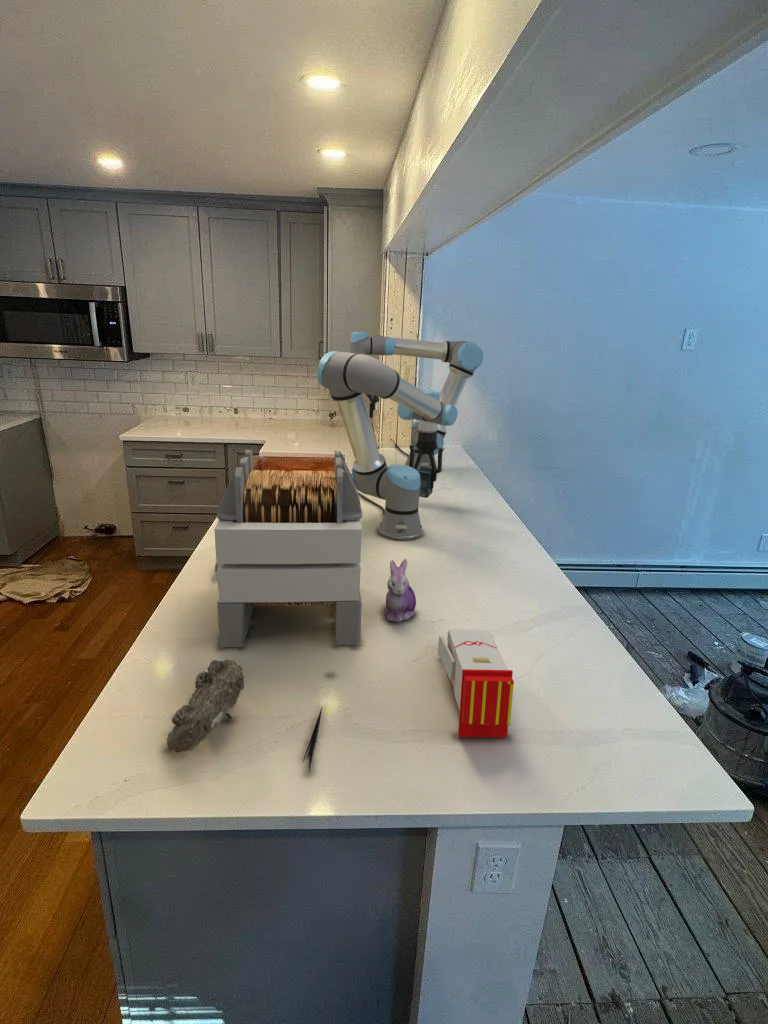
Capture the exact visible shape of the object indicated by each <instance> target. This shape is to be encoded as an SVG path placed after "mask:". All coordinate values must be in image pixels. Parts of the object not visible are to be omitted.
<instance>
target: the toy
mask: <svg viewBox="0 0 768 1024" xmlns="http://www.w3.org/2000/svg"><path fill="white" fill-rule="evenodd" d="M446 640H447V643H446V641H445V639H444V636H443V635H442V634H439V637H438V646H437V656H438V657H439V659H440V661H441V663H442V666H443V668H444V670H445V672H446V674H447V677H448V679H449V681H450V684H451V687H452V690H453V693H454V697H455V701H456V705H457V708H458V711H459V714H458V715H459V716H458V730H457V731H458V732H457V737H458V738H508V731H509V726H510V725H511V717H512V707H513V697H514V696H513V695H514V684H515V680H514V679H513V673H514V671H513V670H512V669H508V667H507V665H506V662H505V661H504V659H503V658H502V655H501V653H500V651H499V649H498V647H497V643H496V639H495V637H494V635H493V634H491V632H490V631H489V629H467V628H466V629H465V628H463V629H461V628H460V629H459V628H448V630H447V639H446Z"/></svg>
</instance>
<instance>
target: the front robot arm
mask: <svg viewBox="0 0 768 1024" xmlns="http://www.w3.org/2000/svg"><path fill="white" fill-rule="evenodd" d="M316 369H317V370H316V376H317V380H318V383H319V384H320V386H323V388H325V389H328V391H329V394H330V398H331V400H332V401H334V402H337V404H338V408H339V411H340V414H341V417H342V420H343V424H344V428H345V430H346V434H347V437H348V441H349V443H350V447H351V450H352V453H353V456H354V462H353V463H352V467H351V470H350V472H351V475H352V478H353V480H354V482H355V484H356V486H357V491H358V495H359V497H361V498H362V499H364V500H366V501H368V502H370V503H371V504H373V505H375V506H376V507H378V508H380V509H381V511H382V519H381V522H379V527H378V533H379V534H380V535H381V536H382V537H385V538H387V539H389V540H395V541H410V540H415V539H418V538H420V537H421V536H422V535H423V525H422V524H421V518H420V515H419V507H420V506H419V505H420V497H419V495H420V486H421V483H420V474H419V472H418V471H417V469H418V466H419V464H420V461H421V458H422V455H423V454H427V455H429V458H430V462H431V466H432V471H433V472H432V473H431V481H430V490H432V489H434V485H435V484H434V483H435V482H436V481H437V479H438V478H437V477H438V474H440V473H441V472H443V453H444V450H445V448H444V446H443V447H442V448H441V447H439V446H438V445H437V432H436V431H437V430H438V424H440V425H443V426H444V425H446V427H451V426H453V425H454V424H455V423H456V422H457V418H458V414H459V413H458V408H457V407H456V405H455V406H454V405H450V404H445V403H443V402H441V401H440V393H441V392H439V391H438V390H435V389H423V390H422V389H421V388H419V387H418V386H416V385H414V384H412V383H411V382H409V381H408V380H406V379H404V378H402V377H401V376H400V374H399V371H397V370H395V368H393V367H390V366H389V365H387V364H386V363H385V362H382V361H381V360H379V359H377V358H375V357H373V356H371V355H365V354H355V353H350V352H346V351H345V352H344V351H342V350H336V351H335V350H333V351H328V352H327V353H325V354H324V355H323V356H322V357H321V359H320V360H319V364H318V365H317V368H316ZM366 394H370V395H372V396H373V395H375V396H378V397H379V399H383V400H387V399H389V400H391V401H393V402H395V403H396V404H397V406H396V407H397V408H396V412H397V415H398V417H399V418H400V419H401V420H404V421H411V420H415V421H418V422H419V424H418V429H419V431H418V441H417V443H416V444H411V443H410V444H409V454H410V460H409V466H406V464H404V465H402V464H391V465H389V466H388V465H387V461H386V457H385V456H384V454H382V453H380V452H379V449H378V445H377V441H376V437H375V434H374V431H373V427H372V423H371V420H370V419H371V418H369V411H368V409H367V405H366V401H365V398H364V395H366ZM416 447H417V448H418V450H419V454H418V457H417V460H416V463H415V465H414V456H415V449H416ZM436 449H437V452H438V454H437V462H435V461H436V457H435V455H434V451H435V450H436ZM434 457H435V458H434ZM413 465H414V466H413ZM365 495H367V496H371V497H374V498H377V499H381V500H384V501H385V504H384V505H385V507H383V506H382V505H380V504H378V503H376V502H375V501H373V500H371V498H370V499H369V498H368V497H366V496H365ZM384 508H385V509H384Z"/></svg>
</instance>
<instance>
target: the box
mask: <svg viewBox="0 0 768 1024" xmlns="http://www.w3.org/2000/svg"><path fill="white" fill-rule="evenodd" d="M417 471H418V472H419V474H420V483H421V486H420V495H419V498H423V499H424V498H425V499H428V498H429V497H430V496H431V494H432V493H433V489H434V488H433V489H432V490H430V481H431V473H432V472H433V471H432V468H429V467H420V468H419V469H418V470H417Z"/></svg>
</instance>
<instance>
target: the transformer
mask: <svg viewBox="0 0 768 1024" xmlns="http://www.w3.org/2000/svg"><path fill="white" fill-rule="evenodd" d="M333 464H334V466H333V469H334V470H328V471H327V472H326V471H325V470H318V471H317V470H315V471H314V470H295V469H294V470H291V471H290V470H289V471H288V470H287V471H286V470H283V469H282V470H280V469H279V470H277V469H271V470H270V469H266V470H265V469H263V470H260V469H254V454H253V449H247V448H246V449H245V450H244V452H243V453H242V456H241V458H240V460H239V462H238V465H237V467H236V468H235V470H234V472H233V474H232V476H231V478H230V480H229V483H228V485H227V487H226V490H225V492H224V494H223V496H222V498H221V501H220V503H219V505H218V507H217V510H216V518H217V523H216V524H215V527H214V546H215V561H216V562H215V564H219V566H218V568H217V572H216V576H217V577H216V578H217V593H218V600H217V620H218V621H217V622H218V630H219V642H220V644H219V648H220V649H227V648H242V646H243V644H244V642H245V639H246V636H247V633H248V631H249V629H250V626H251V617H252V616H253V612H254V608H255V607H257V606H258V607H260V606H261V607H262V606H263V607H264V606H265V607H271V606H272V607H274V606H276V607H277V606H280V607H281V606H286V607H287V606H291V607H292V606H324V605H325V606H330V605H331V606H333V614H334V635H335V636H334V641H335V646H355V647H356V646H358V645H360V644H361V636H362V635H361V633H362V632H361V630H362V596H361V570H362V569H361V562H362V561H361V560H362V536H363V535H362V534H363V533H362V532H363V531H362V530H363V529H362V524H361V519H362V518H363V510H362V505H361V499H360V495H358V492H359V491H358V490H357V486H356V484H355V482H354V480H353V478H352V475H351V474H352V472H351V470H350V469H349V467H348V465H347V462H346V461H345V458H344V456H343V454H342V452H341V450H338V449H337V450H334V463H333Z"/></svg>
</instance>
